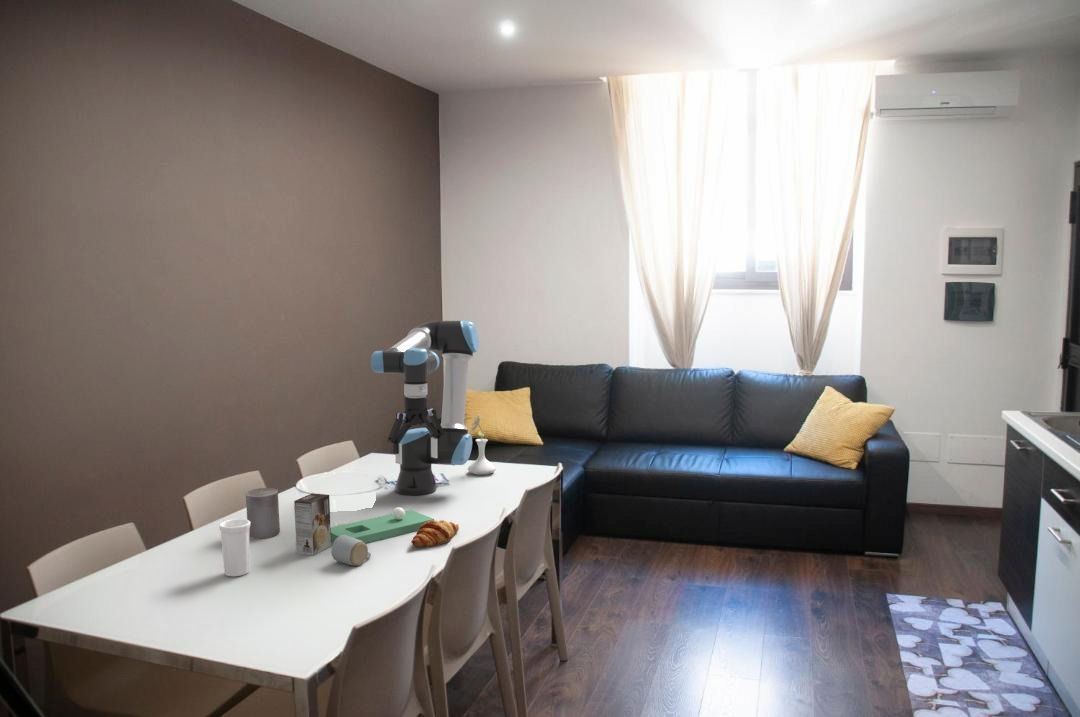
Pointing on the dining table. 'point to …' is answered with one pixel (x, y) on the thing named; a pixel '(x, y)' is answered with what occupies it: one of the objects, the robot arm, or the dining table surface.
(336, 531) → the green slotted board
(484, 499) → the dining table surface
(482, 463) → the flower in vase
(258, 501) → the pillar candle
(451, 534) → the croissant
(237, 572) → the cup
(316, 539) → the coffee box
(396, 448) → the robot arm
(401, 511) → the ball
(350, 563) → the ceramic mug
